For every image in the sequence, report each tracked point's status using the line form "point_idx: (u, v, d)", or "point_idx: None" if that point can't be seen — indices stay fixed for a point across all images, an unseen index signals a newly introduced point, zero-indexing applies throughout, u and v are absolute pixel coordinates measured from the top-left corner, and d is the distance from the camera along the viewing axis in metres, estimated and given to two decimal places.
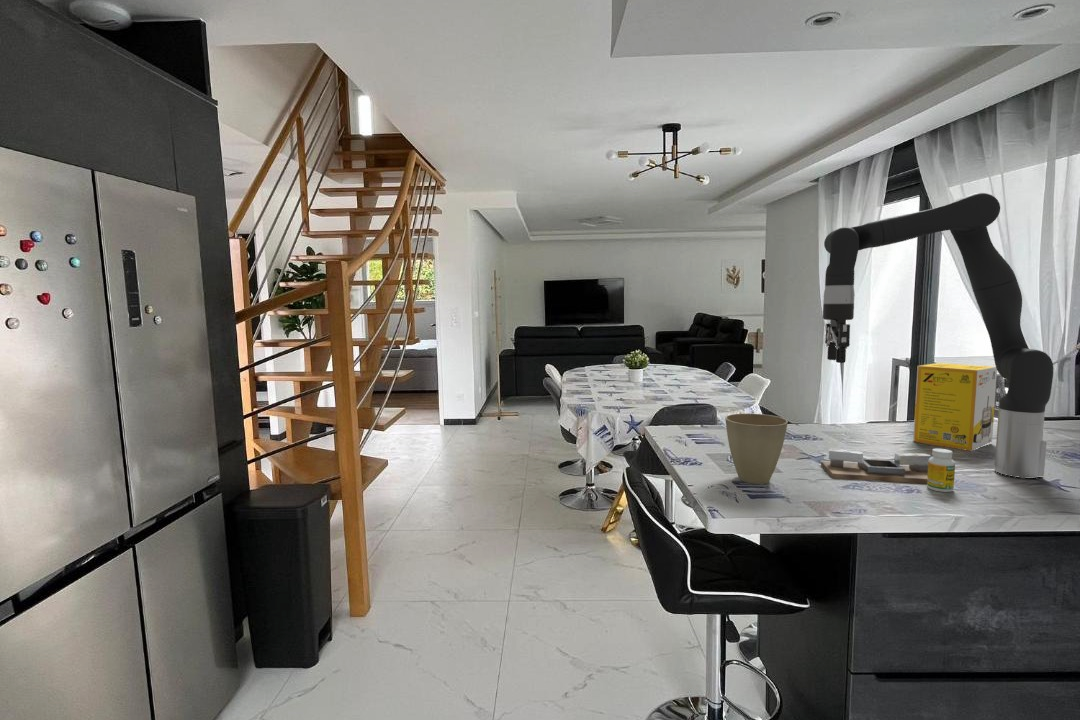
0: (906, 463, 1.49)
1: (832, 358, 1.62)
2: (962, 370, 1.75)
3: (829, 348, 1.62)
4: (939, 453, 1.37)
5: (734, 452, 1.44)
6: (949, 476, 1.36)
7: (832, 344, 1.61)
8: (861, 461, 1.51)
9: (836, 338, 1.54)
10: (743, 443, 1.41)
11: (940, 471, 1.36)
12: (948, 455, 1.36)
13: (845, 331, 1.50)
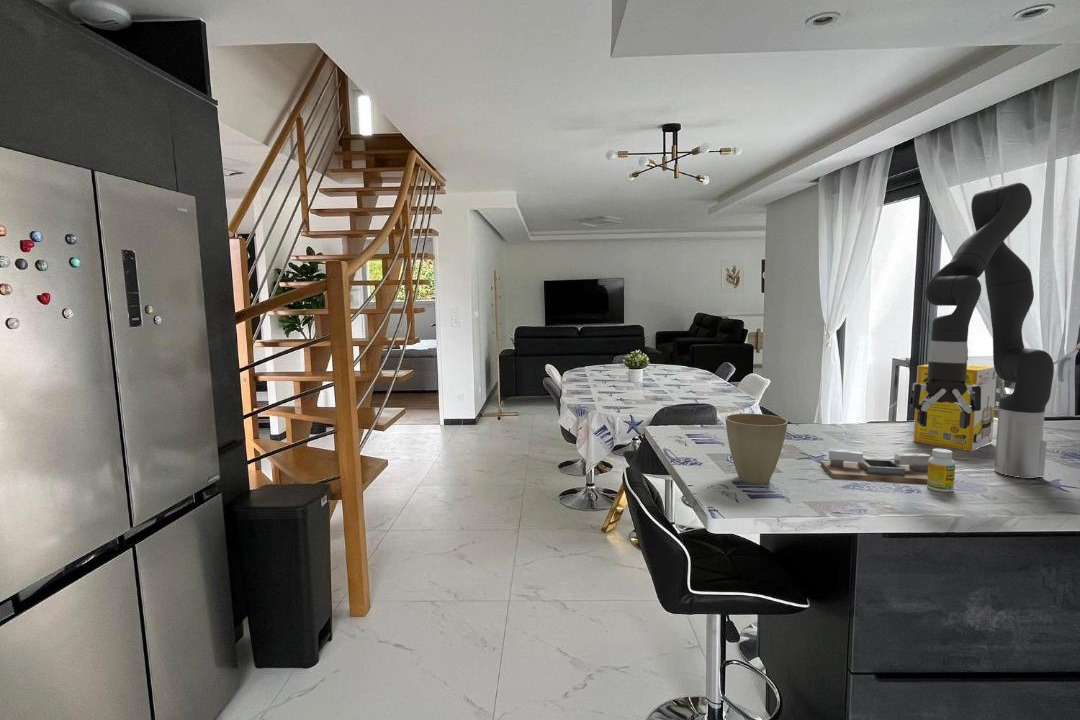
0: (906, 463, 1.49)
1: None
2: None
3: None
4: (939, 453, 1.37)
5: (734, 452, 1.44)
6: (949, 476, 1.36)
7: None
8: (861, 461, 1.51)
9: None
10: (743, 443, 1.41)
11: (940, 471, 1.36)
12: (948, 455, 1.36)
13: None
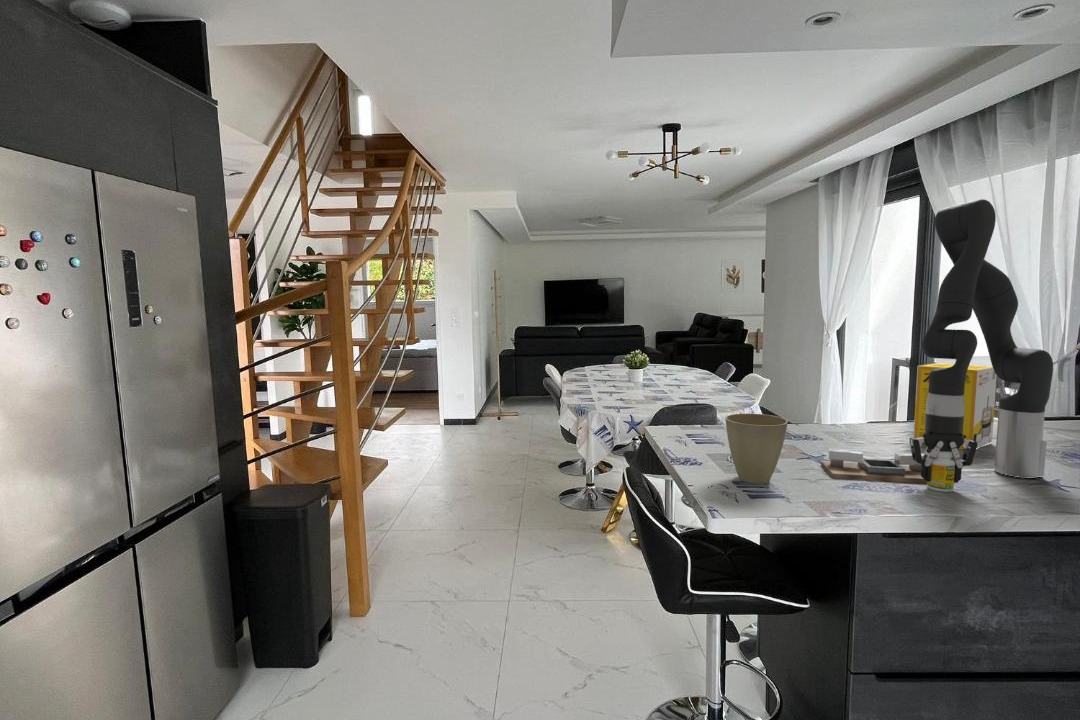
0: (906, 463, 1.49)
1: None
2: None
3: None
4: (939, 453, 1.37)
5: (734, 452, 1.44)
6: (949, 476, 1.36)
7: None
8: (861, 461, 1.51)
9: None
10: (743, 443, 1.41)
11: (940, 471, 1.36)
12: (948, 455, 1.36)
13: None
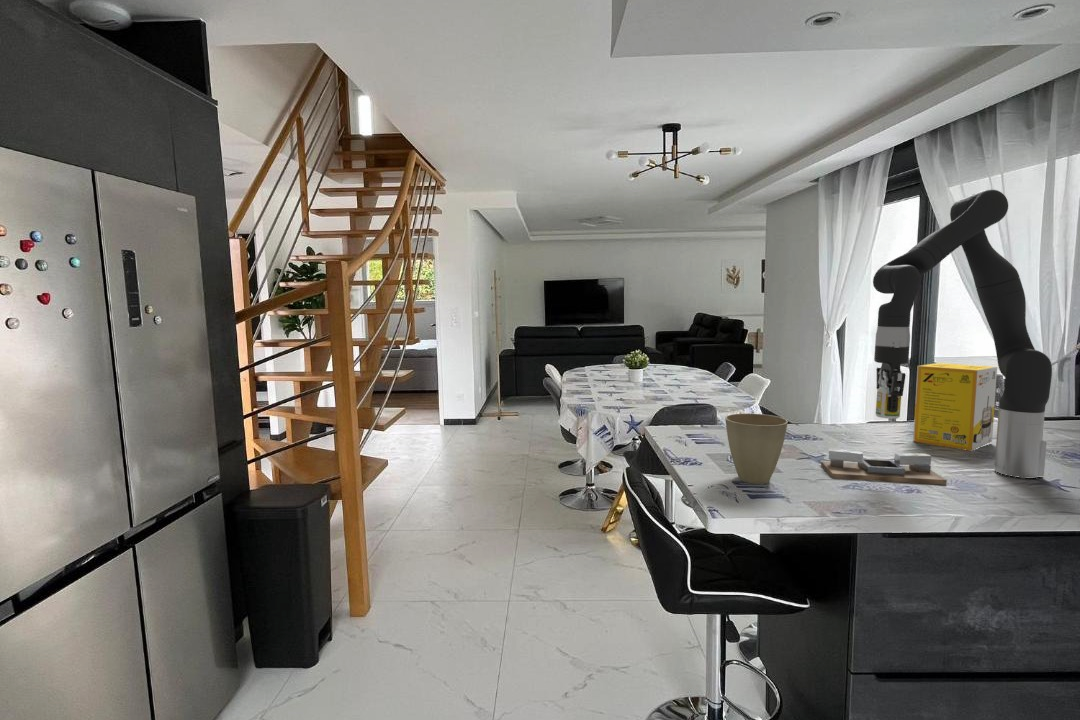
0: (906, 463, 1.49)
1: None
2: (962, 370, 1.75)
3: None
4: None
5: (734, 452, 1.44)
6: None
7: None
8: (861, 461, 1.51)
9: None
10: (743, 443, 1.41)
11: (900, 399, 1.46)
12: None
13: None
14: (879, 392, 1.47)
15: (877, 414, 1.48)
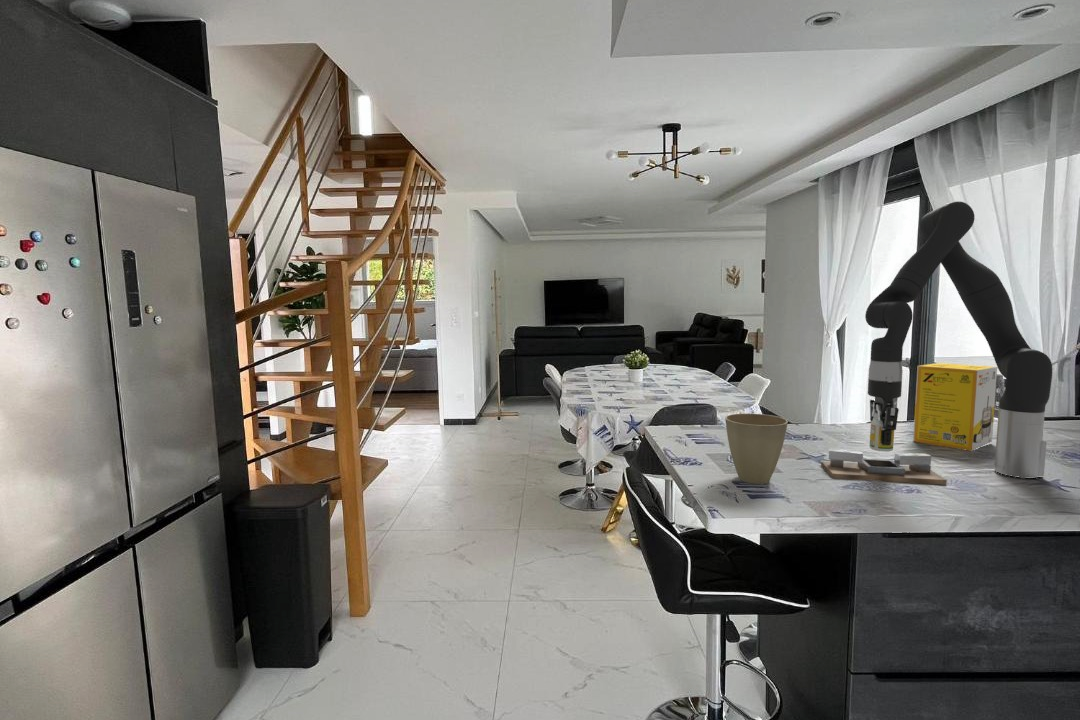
0: (906, 463, 1.49)
1: None
2: (962, 370, 1.75)
3: None
4: None
5: (734, 452, 1.44)
6: None
7: None
8: (861, 461, 1.51)
9: None
10: (743, 443, 1.41)
11: None
12: None
13: None
14: (873, 425, 1.49)
15: (871, 446, 1.50)
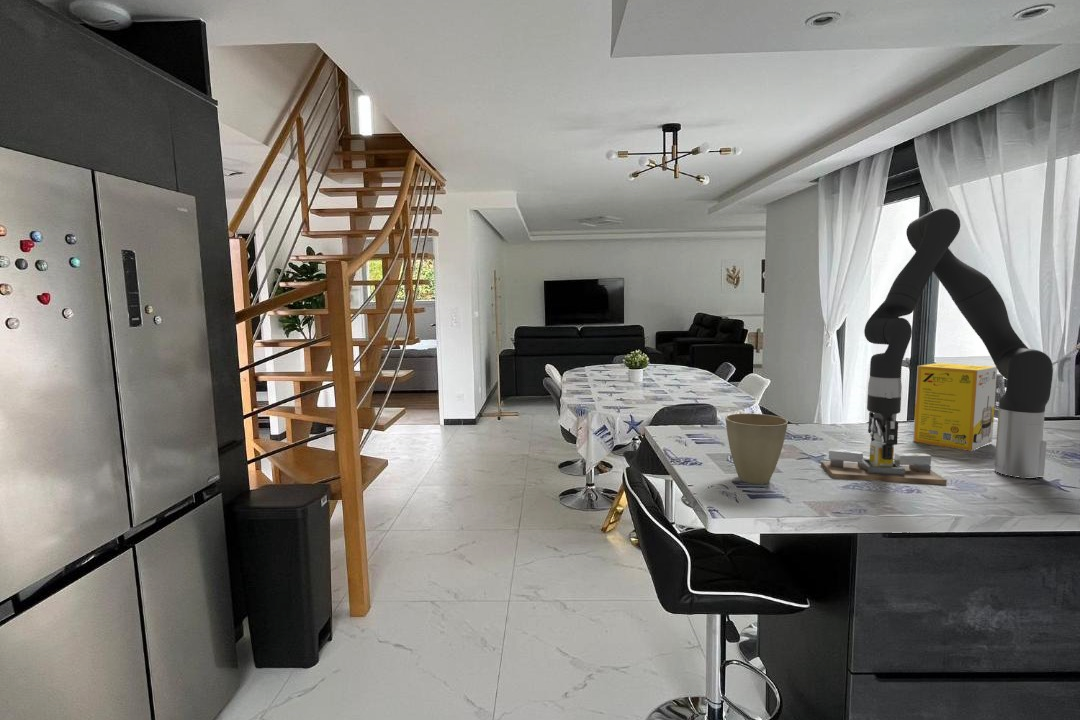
0: (906, 463, 1.49)
1: None
2: (962, 370, 1.75)
3: None
4: None
5: (734, 452, 1.44)
6: None
7: None
8: (861, 461, 1.51)
9: None
10: (743, 443, 1.41)
11: (893, 453, 1.49)
12: None
13: None
14: (872, 446, 1.50)
15: None
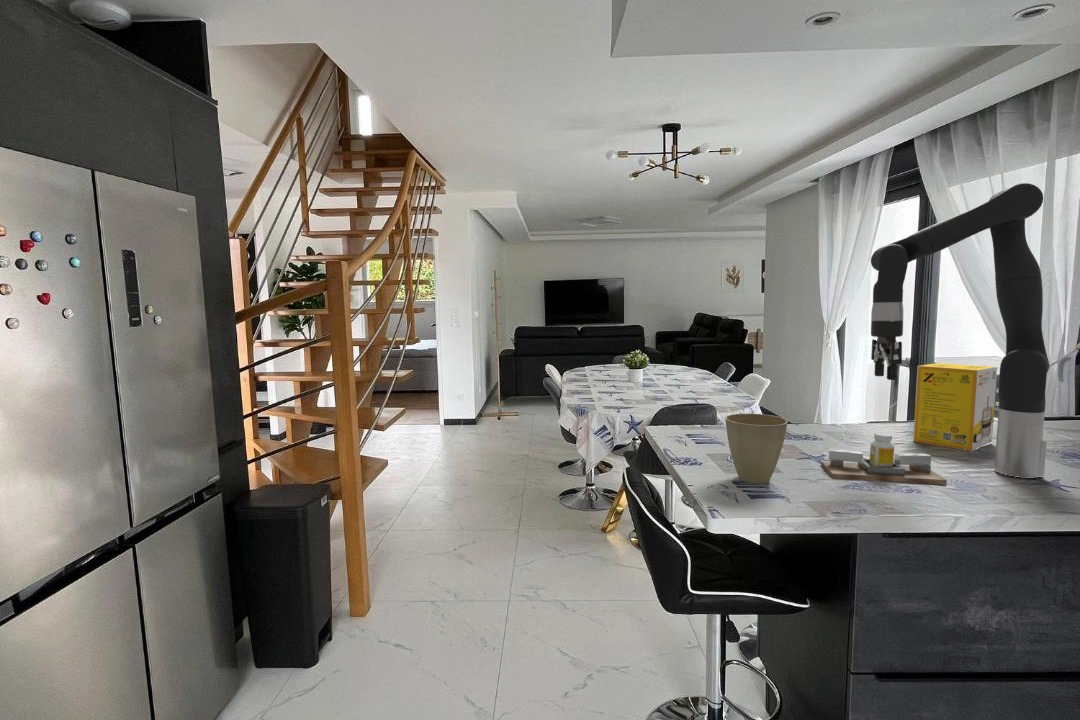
0: (906, 463, 1.49)
1: None
2: (962, 370, 1.75)
3: None
4: (891, 437, 1.48)
5: (734, 452, 1.44)
6: None
7: None
8: (861, 461, 1.51)
9: None
10: (743, 443, 1.41)
11: (893, 453, 1.48)
12: None
13: None
14: (873, 446, 1.50)
15: None
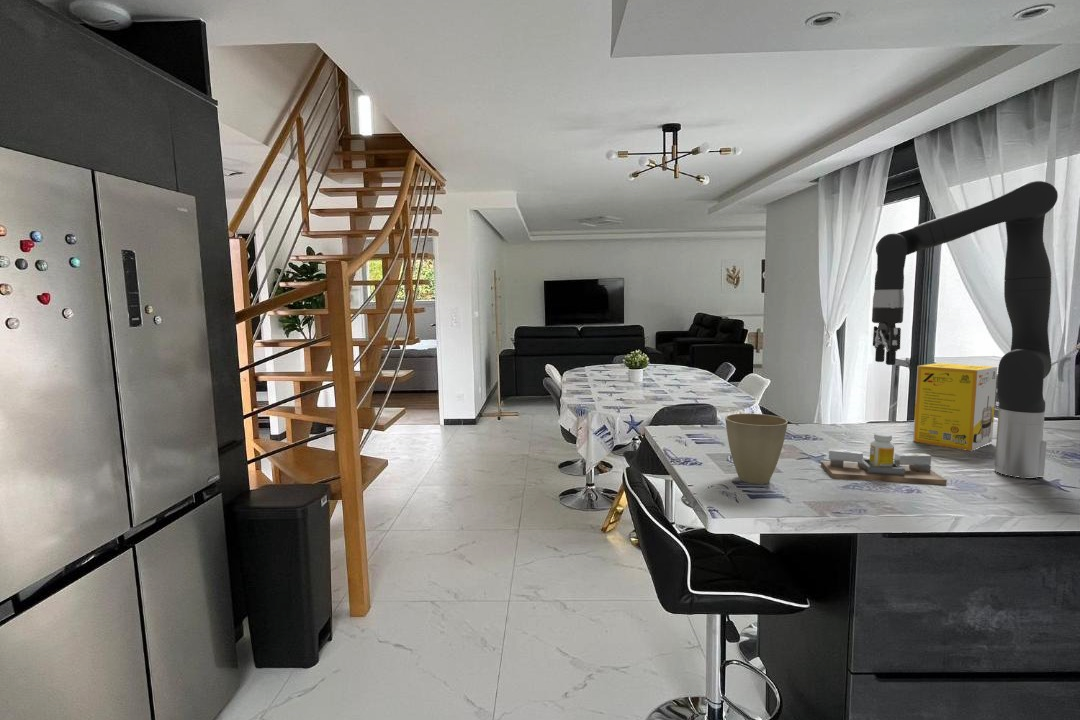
0: (906, 463, 1.49)
1: None
2: (962, 370, 1.75)
3: None
4: (891, 437, 1.48)
5: (734, 452, 1.44)
6: None
7: None
8: (861, 461, 1.51)
9: None
10: (743, 443, 1.41)
11: (893, 453, 1.48)
12: None
13: None
14: (873, 446, 1.50)
15: None
